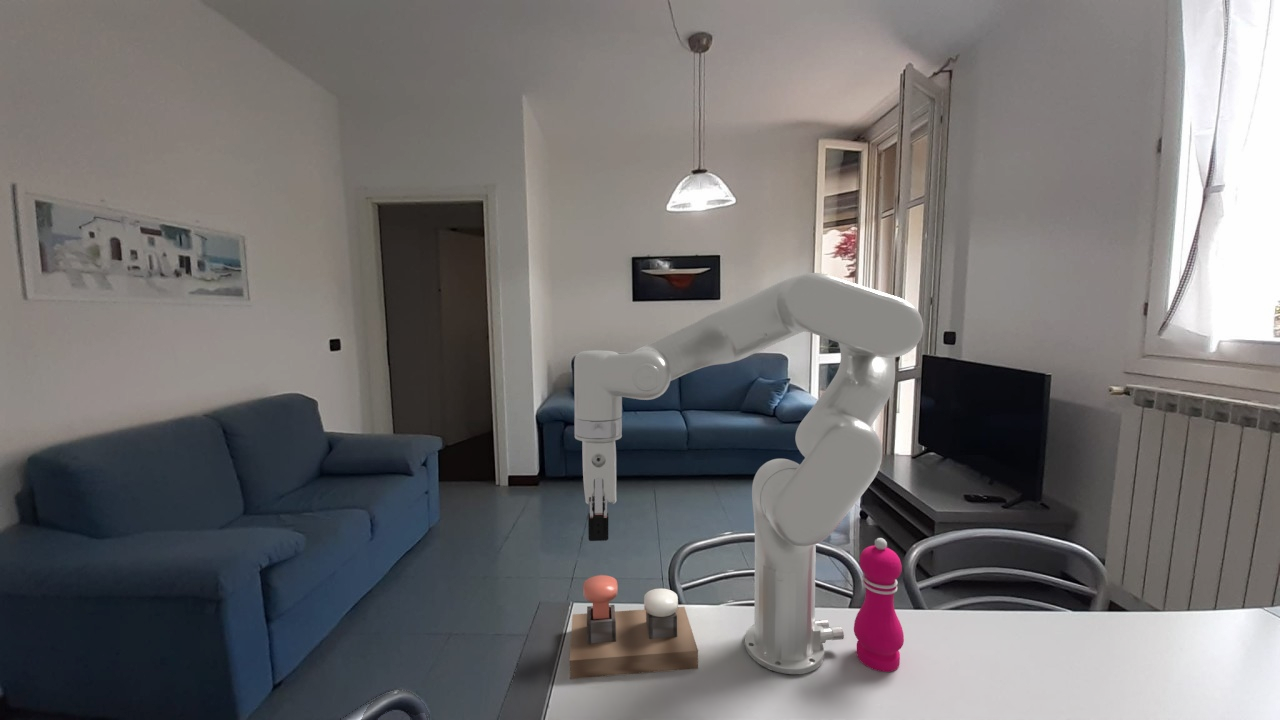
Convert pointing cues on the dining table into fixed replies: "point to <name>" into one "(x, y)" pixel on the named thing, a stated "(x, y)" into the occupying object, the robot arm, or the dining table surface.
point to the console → (630, 643)
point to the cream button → (661, 602)
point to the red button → (600, 594)
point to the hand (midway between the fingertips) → (598, 538)
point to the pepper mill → (879, 609)
